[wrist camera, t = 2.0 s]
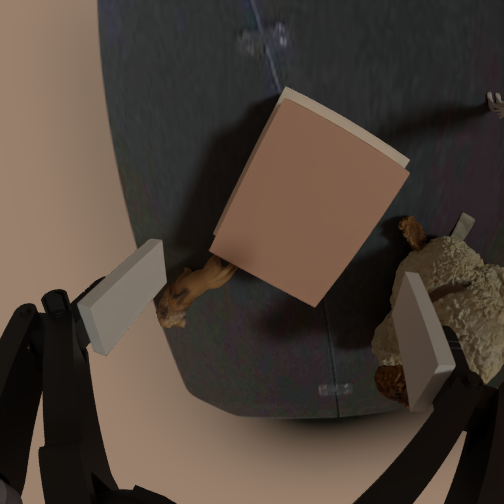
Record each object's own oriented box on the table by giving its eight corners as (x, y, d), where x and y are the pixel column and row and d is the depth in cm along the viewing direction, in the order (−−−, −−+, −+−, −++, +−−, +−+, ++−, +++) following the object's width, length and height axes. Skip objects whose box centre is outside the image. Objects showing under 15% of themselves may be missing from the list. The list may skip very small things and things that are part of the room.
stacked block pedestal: (225, 218, 39) (196, 253, 31) (290, 89, 31) (278, 82, 22) (320, 270, 40) (317, 318, 31) (398, 152, 31) (424, 170, 22)
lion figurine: (195, 304, 47) (172, 342, 39) (170, 281, 46) (142, 316, 38) (260, 247, 40) (243, 284, 32) (230, 219, 39) (205, 250, 32)
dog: (377, 346, 44) (385, 460, 26) (326, 250, 38) (320, 370, 21) (506, 285, 34) (564, 380, 17) (481, 172, 29) (582, 239, 12)
